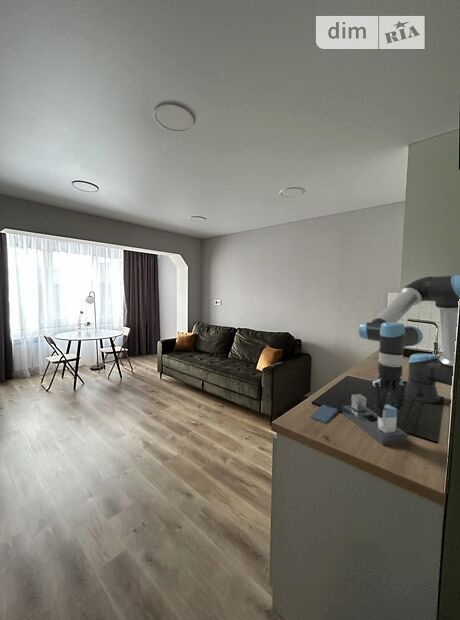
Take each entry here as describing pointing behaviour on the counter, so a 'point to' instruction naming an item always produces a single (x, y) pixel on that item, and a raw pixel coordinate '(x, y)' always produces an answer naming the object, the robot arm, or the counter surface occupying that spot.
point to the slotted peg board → (371, 422)
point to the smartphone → (324, 414)
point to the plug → (389, 419)
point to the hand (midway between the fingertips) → (386, 424)
